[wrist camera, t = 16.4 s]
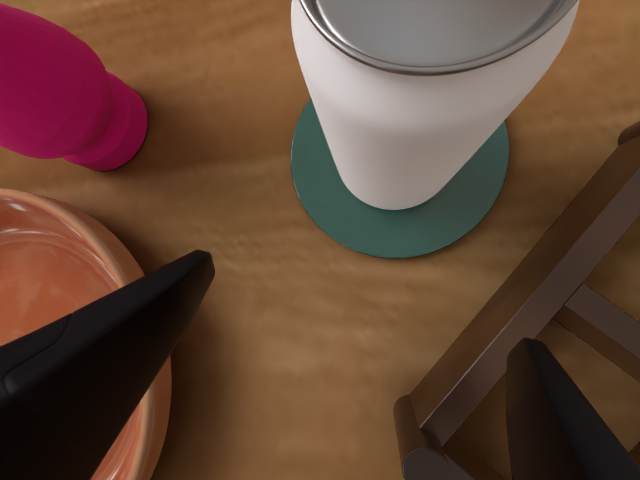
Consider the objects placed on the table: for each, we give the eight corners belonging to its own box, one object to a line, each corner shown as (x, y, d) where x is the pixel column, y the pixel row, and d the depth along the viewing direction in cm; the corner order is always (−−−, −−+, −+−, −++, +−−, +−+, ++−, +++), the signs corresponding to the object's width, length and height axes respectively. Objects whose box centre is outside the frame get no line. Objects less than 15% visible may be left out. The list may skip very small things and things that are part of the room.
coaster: (266, 221, 19) (263, 219, 18) (330, 38, 19) (328, 31, 19) (465, 288, 17) (468, 289, 16) (534, 82, 17) (539, 75, 17)
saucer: (242, 491, 18) (209, 548, 14) (-59, 593, 21) (-151, 662, 17) (126, 146, 21) (75, 121, 17) (-122, 274, 24) (-211, 276, 20)
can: (352, 91, 18) (315, -232, 6) (467, 109, 17) (683, -244, 5) (323, 197, 18) (231, 67, 6) (438, 224, 17) (596, 126, 5)
